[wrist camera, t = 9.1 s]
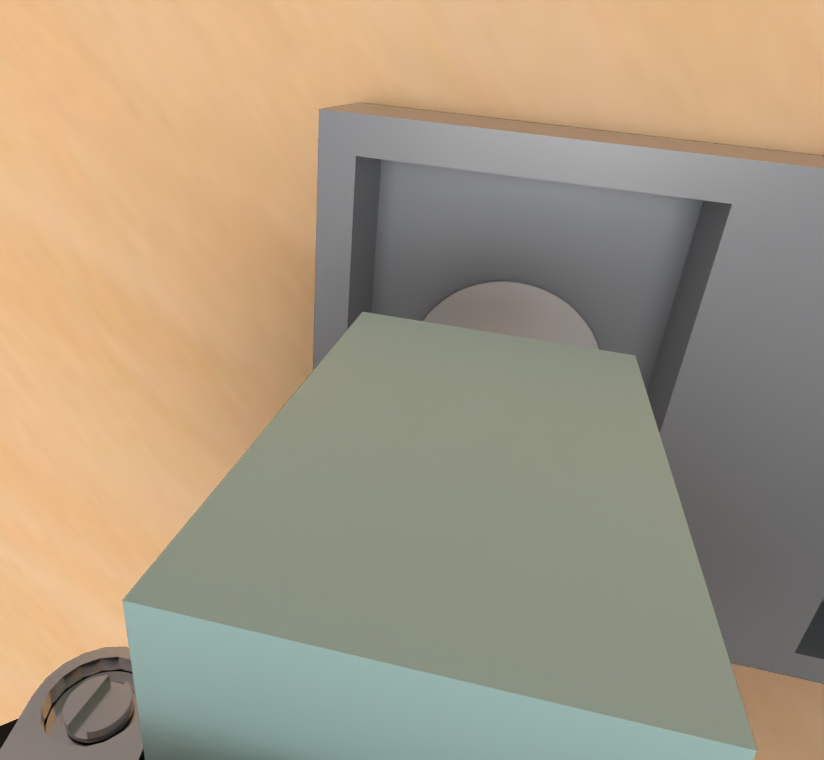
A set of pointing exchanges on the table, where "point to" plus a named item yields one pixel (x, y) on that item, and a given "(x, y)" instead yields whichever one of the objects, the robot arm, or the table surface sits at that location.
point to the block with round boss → (440, 571)
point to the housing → (620, 310)
